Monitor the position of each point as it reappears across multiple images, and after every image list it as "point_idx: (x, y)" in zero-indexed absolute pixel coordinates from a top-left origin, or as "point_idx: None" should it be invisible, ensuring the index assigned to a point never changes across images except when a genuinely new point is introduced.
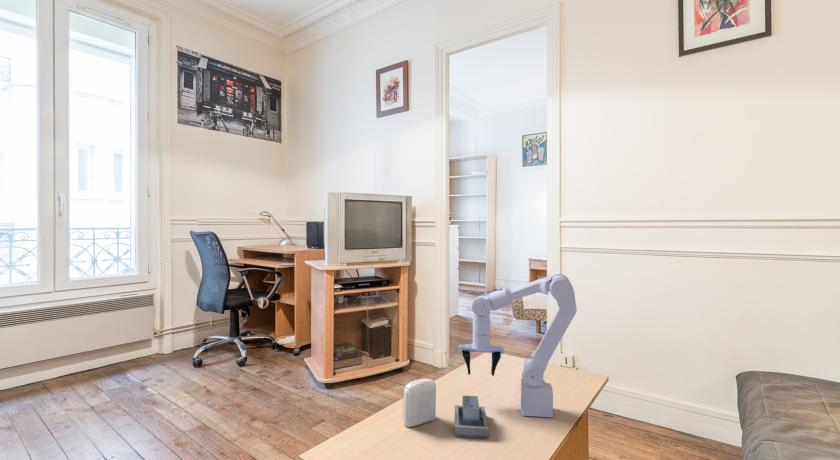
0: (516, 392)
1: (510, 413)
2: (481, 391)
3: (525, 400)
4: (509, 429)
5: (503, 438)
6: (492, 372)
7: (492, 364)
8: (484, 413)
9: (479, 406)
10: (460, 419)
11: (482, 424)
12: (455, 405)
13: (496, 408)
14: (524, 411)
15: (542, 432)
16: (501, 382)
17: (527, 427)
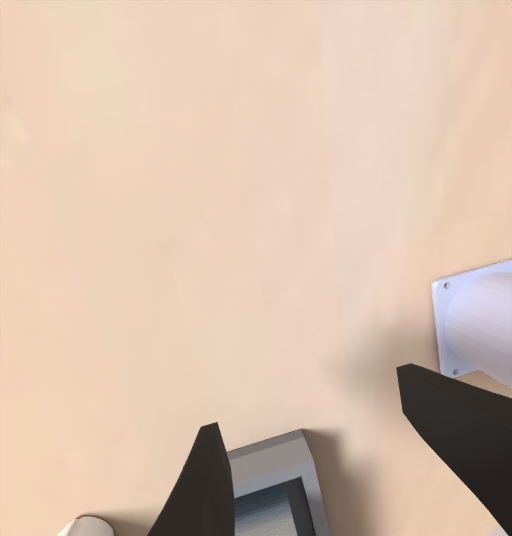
0: (429, 153)
1: None
2: (256, 203)
3: (504, 384)
4: (393, 476)
5: (375, 530)
6: (427, 441)
7: (482, 468)
8: (320, 510)
9: (291, 466)
10: None
11: (307, 514)
12: None
13: (343, 352)
14: (456, 356)
15: None
16: (352, 33)
17: None
